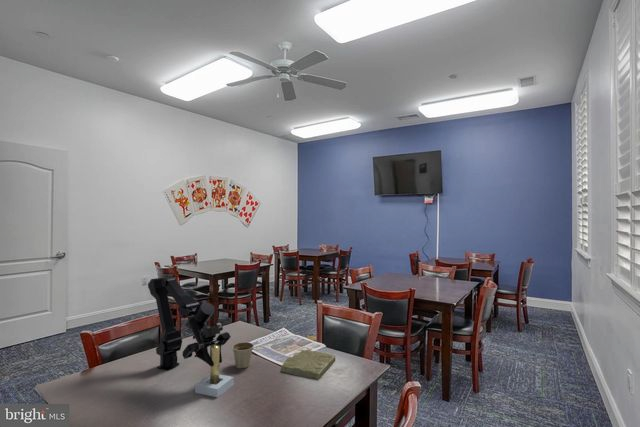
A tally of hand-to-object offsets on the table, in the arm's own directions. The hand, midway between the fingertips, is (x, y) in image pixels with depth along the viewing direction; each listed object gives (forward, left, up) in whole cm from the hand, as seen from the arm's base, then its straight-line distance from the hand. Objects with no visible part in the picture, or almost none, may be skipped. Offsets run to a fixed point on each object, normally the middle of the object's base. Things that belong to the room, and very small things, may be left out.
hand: (217, 364), depth 130 cm
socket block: (-1, 0, -10) cm, 10 cm away
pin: (-1, 0, -8) cm, 8 cm away
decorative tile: (+25, +31, -10) cm, 41 cm away
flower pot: (-2, +21, -10) cm, 24 cm away
